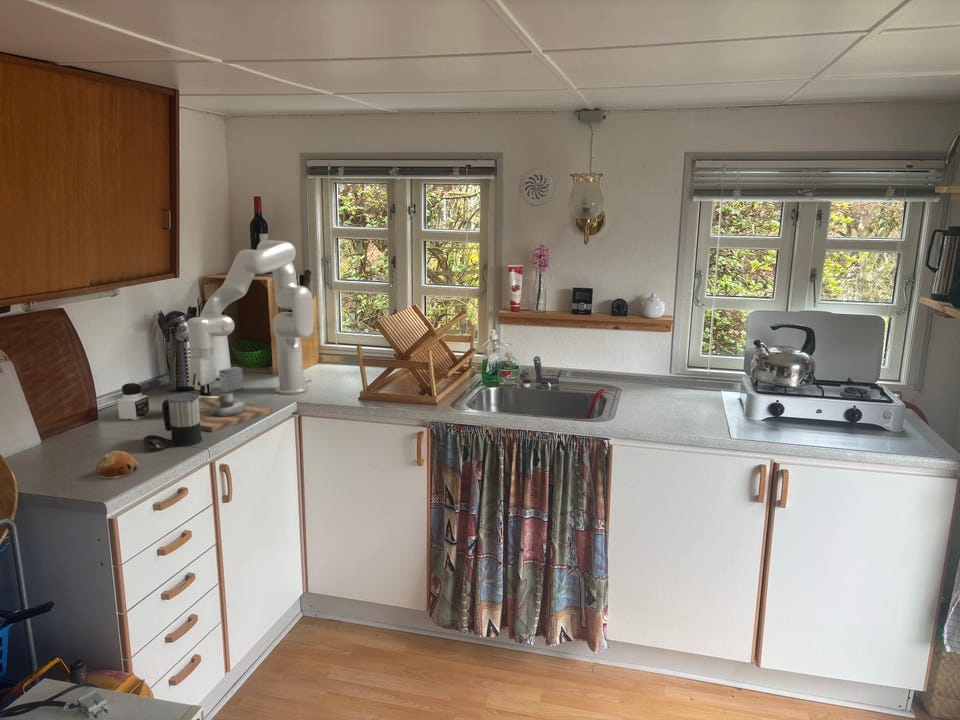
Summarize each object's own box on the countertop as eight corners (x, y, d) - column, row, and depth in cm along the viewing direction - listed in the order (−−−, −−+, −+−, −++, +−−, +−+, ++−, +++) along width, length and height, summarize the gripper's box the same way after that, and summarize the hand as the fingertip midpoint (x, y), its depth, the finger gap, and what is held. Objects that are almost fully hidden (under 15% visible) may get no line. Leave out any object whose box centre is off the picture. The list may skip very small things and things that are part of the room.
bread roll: (123, 477, 209) (111, 452, 209) (148, 466, 206) (136, 440, 205) (97, 490, 200) (83, 464, 200) (122, 478, 197) (109, 452, 196)
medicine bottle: (137, 420, 252) (133, 386, 249) (119, 419, 253) (115, 385, 251) (150, 414, 259) (146, 381, 256) (132, 413, 260) (128, 381, 257)
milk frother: (209, 438, 232) (205, 393, 229) (178, 454, 217) (173, 407, 214) (169, 435, 235) (165, 391, 232) (137, 451, 220) (131, 404, 217)
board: (229, 404, 271) (229, 399, 271) (271, 412, 260) (271, 407, 260) (168, 422, 250) (168, 417, 249) (211, 431, 238) (211, 426, 238)
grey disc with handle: (251, 407, 261) (250, 390, 259) (235, 416, 249) (234, 399, 248) (199, 405, 264) (197, 389, 262) (181, 414, 252) (179, 397, 251)
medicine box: (237, 387, 296) (235, 366, 294) (244, 388, 294) (242, 367, 292) (220, 391, 290) (218, 370, 288) (227, 392, 288) (225, 371, 286)
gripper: (203, 348, 264) (208, 396, 268) (179, 356, 249) (184, 408, 253) (222, 348, 262) (226, 397, 266) (199, 357, 248) (204, 409, 252)
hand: (206, 402), depth 260 cm, fingers closed
